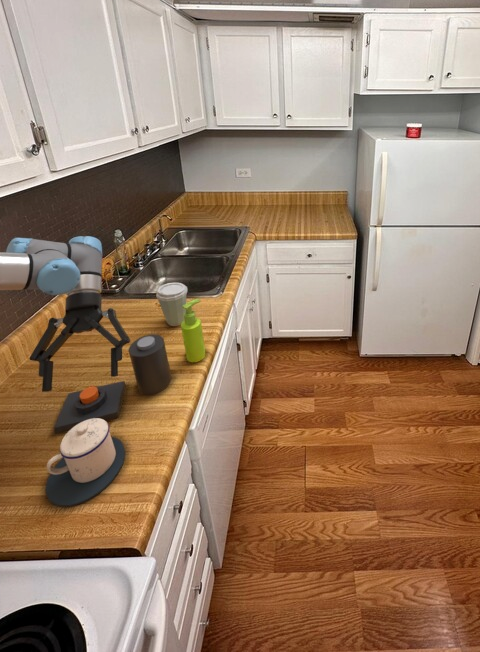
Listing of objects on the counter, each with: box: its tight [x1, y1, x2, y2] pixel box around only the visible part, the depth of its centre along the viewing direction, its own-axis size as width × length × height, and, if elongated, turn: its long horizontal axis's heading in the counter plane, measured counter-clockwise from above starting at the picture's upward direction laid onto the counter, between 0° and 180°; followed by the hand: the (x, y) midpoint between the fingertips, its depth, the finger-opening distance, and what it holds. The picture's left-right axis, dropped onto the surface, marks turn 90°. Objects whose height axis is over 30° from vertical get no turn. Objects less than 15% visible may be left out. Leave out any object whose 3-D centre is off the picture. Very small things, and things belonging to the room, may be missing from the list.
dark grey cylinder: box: [128, 334, 173, 396], centre depth 96 cm, size 9×11×15 cm
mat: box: [45, 436, 126, 508], centre depth 75 cm, size 15×15×1 cm
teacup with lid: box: [46, 418, 116, 483], centre depth 73 cm, size 12×9×12 cm
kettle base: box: [53, 380, 127, 434], centre depth 89 cm, size 14×11×4 cm
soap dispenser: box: [180, 298, 206, 363], centre depth 105 cm, size 6×7×20 cm
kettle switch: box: [80, 386, 99, 404], centre depth 88 cm, size 4×4×2 cm
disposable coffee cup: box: [155, 282, 188, 327], centre depth 122 cm, size 11×11×15 cm
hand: (81, 383), depth 77 cm, fingers open, 13 cm apart
